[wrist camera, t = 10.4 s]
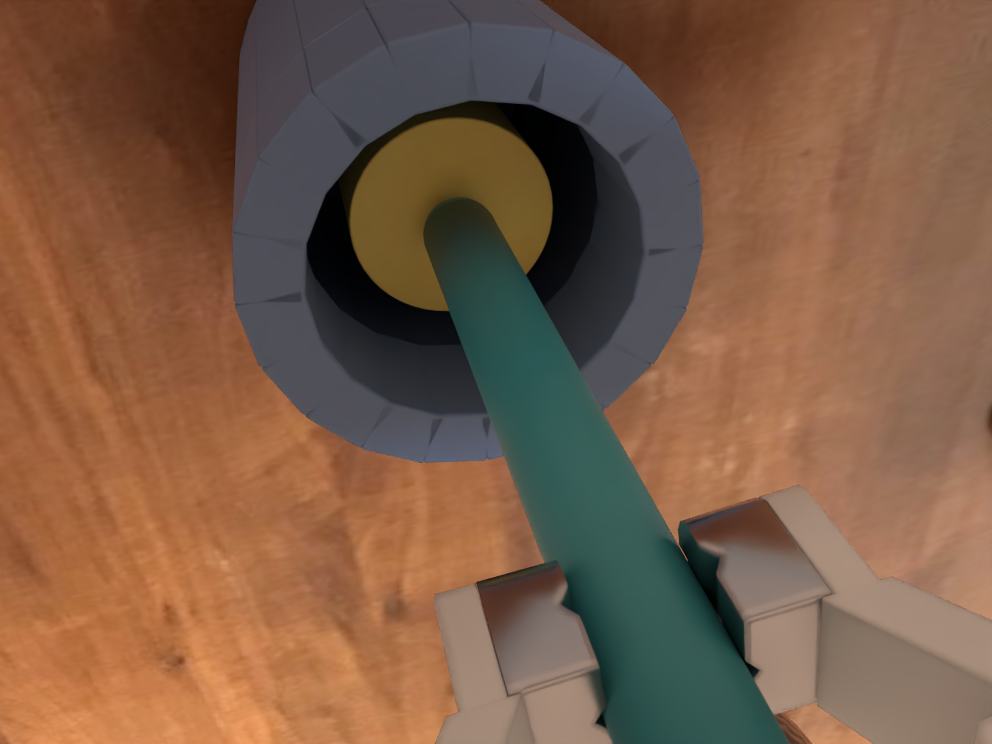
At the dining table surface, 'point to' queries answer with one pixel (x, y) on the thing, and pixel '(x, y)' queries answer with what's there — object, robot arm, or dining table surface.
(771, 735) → the brush
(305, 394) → the jar
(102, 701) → the dining table surface
